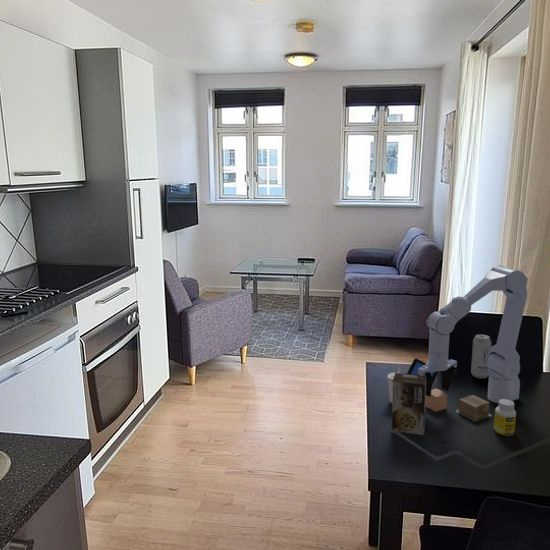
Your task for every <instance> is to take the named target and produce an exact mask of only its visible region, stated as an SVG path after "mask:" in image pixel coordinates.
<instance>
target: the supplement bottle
mask: <svg viewBox="0 0 550 550" xmlns="http://www.w3.org/2000/svg"><path fill="white" fill-rule="evenodd" d="M497 404H498V406H496V407H495V409H494V419H493V432H494V433H496V434H497V435H500V436H504V437H511V436H513V435H514V434H515V428H516V418H517V412H516V410H515V402H514V401H511V400H507V399H501V400H499V403H497Z"/></svg>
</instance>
